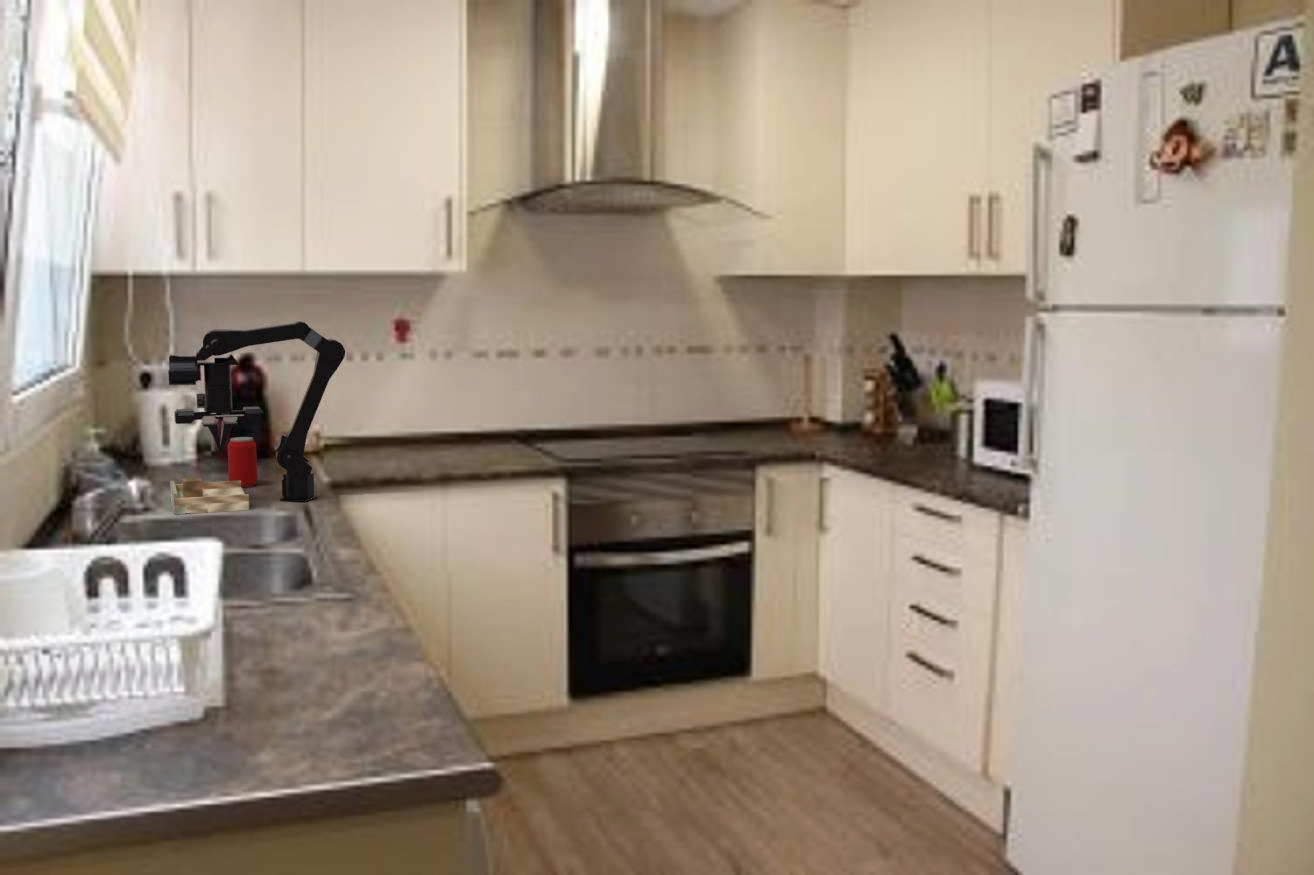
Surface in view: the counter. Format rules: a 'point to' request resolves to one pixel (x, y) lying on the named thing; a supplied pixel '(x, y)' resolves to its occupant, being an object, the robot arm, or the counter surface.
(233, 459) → the beverage can
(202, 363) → the robot arm
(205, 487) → the trap track
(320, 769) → the counter surface
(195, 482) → the walnut block
